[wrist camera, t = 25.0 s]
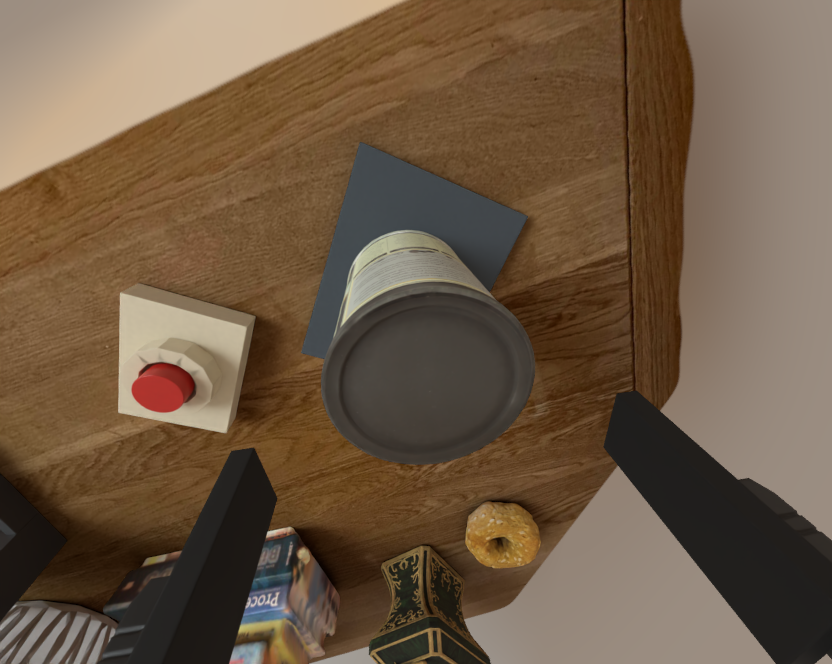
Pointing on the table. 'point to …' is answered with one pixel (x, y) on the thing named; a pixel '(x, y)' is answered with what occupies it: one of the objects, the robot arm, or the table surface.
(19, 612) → the vase
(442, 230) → the mat
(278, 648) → the stack of books
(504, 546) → the bagel
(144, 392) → the power button
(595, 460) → the table surface
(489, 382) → the coffee can
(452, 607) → the decorative box
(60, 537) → the footed upright panel
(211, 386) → the switch block
